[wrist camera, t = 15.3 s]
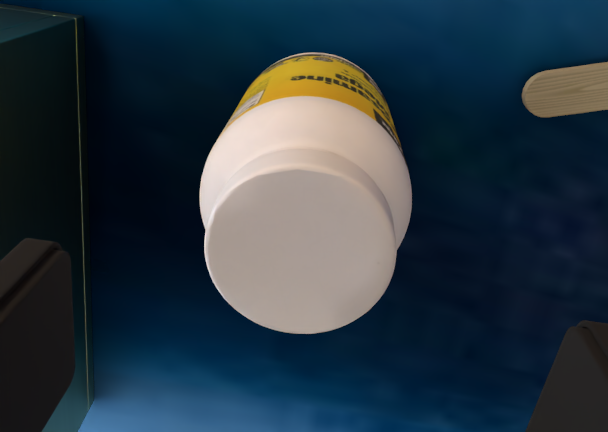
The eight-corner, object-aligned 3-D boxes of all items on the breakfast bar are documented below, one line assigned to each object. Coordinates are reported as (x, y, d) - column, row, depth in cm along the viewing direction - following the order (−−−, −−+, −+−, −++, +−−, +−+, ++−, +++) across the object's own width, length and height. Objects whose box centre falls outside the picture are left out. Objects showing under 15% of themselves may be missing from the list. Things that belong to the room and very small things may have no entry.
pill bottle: (421, 114, 24) (487, 243, 14) (325, 220, 26) (320, 398, 16) (300, 13, 22) (275, 75, 12) (209, 135, 24) (124, 272, 14)
